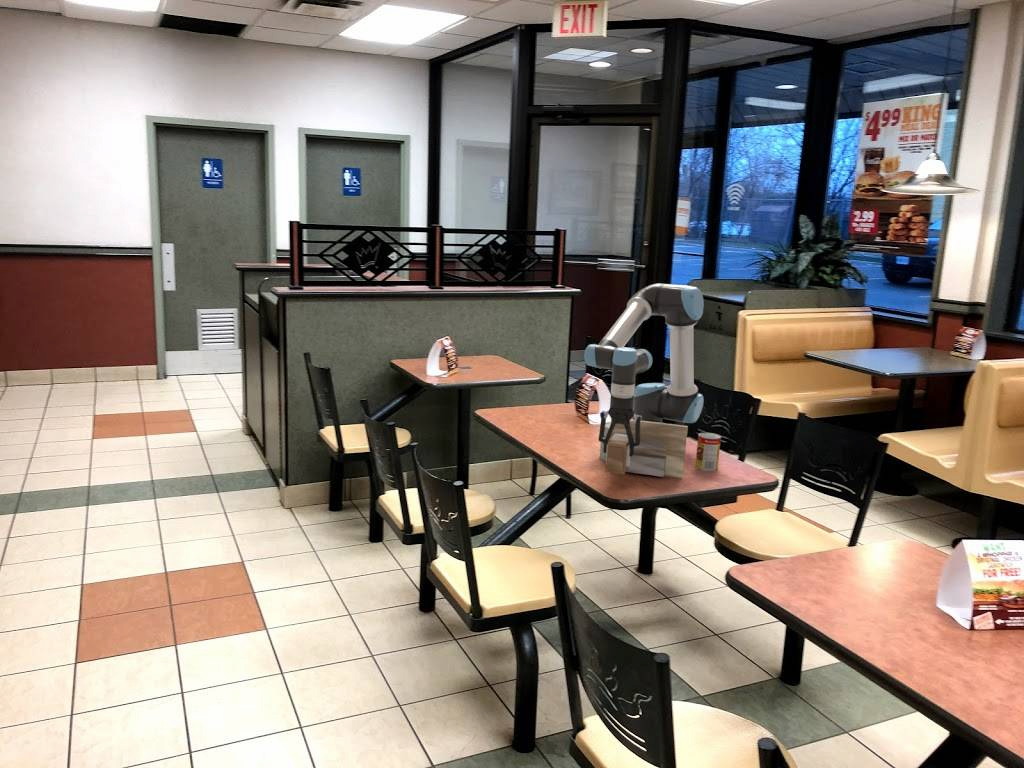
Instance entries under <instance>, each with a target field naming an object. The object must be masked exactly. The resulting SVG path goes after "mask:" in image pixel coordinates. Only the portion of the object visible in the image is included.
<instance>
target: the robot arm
mask: <svg viewBox="0 0 1024 768" xmlns="http://www.w3.org/2000/svg"><path fill="white" fill-rule="evenodd" d="M704 303H705V302H704V296H703V294H702V291H701V290H700V289H699V288H698V287H696V286H690V285H686V284H685V285H682V284H669V283H660V282H659V283H654V284H649V285H648V286H645V287H644V288H641V289H640V290H638V291H637V292H635V294H633V295H632V296H631V297H630V299H629V300H628V302H627V303H626V308H625V310H624V311H623V313H621V315H620V316H619V318H617V320H615V323H614V324H613V325H612V326H611V328H610V329H609V330H608V331H607V333H605V336H603V338H602V339H601V340H600V342H599V343H598V344H596V343H592V344H588V345H587V347H585V350H584V353H583V354H584V358H583V359H584V362H585V364H586V365H587V366H589V367H594V368H599V369H607V370H612V372H611V375H612V376H611V386H610V387H611V388H610V394H611V396H610V401H609V403H610V404H609V409H608V410H605V411H604V410H602V411H600V413H599V415H600V427H599V433H598V442H600V443H601V442H603V443H604V450H603V452H604V453H606V461H605V464H606V463H607V448H608V442H609V439H610V437H611V434H612V432H613V429H614V427H615V425H616V424H623V425H624V426H625V429H626V433H627V437H628V441H629V446H628V447H627V459H626V466H627V467H628V466H629V465H630V456H633V454H634V447H635V446H639V444H640V422H641V421H649V422H658V423H663V419H665V420H668V421H674V422H675V421H676V422H680V423H683V424H684V423H685V424H693V423H696V422H697V420H698V419H699V418H700V415H701V413H702V411H703V406H704V400H705V399H704V396H703V394H702V393H699V388H698V386H697V385H696V384H695V383H694V382H695V379H694V378H695V377H694V376H695V374H694V370H695V368H694V362H695V361H694V359H695V358H694V357H695V356H694V352H695V351H694V348H695V347H694V344H695V343H694V339H695V338H694V333H695V331H694V326H695V325H697V323H698V321H699V320H700V319H701V318H702V316H703V314H704ZM651 316H662V317H664V319H665V324H666V325H667V326H668V327H669V354H670V355H669V357H670V359H669V363H670V365H669V367H670V371H669V373H670V384H669V385H668V386H666V384H665V383H662V382H651V383H650V382H647V383H641V384H638V385H637V386H636V375H638V374H641V373H644V372H646V371H648V370H649V369H650V368H651V367H652V364H653V356H652V354H651V352H649V351H648V350H647V349H644V348H637V349H635V348H632V347H625V346H626V344H627V343H628V342H629V341H630V339H631V338H632V337H633V335H634V334H635V333H636V331H637V330H638V328H639V327H640V326H641V325H642V323H643V322H644V321H647V320H648V319H650V317H651ZM608 416H609V418H610V420H611V419H612V422H611V421H610V422H611V425H610V428H609V430H608V433H607V435H606V438H604V431H605V424H606V423H607V418H608ZM631 419H633V420H634V421H635V422H636V424H635V442H634V439H633V435H632V431H631V427H630V420H631Z"/></svg>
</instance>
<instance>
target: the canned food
mask: <svg viewBox="0 0 1024 768" xmlns="http://www.w3.org/2000/svg"><path fill="white" fill-rule="evenodd" d="M721 439H722V436H721V435H720V434H717V433H713V432H700V433H698V435H697V444H696V455H695V465H694V467H695V468H696V469H697V470H701V471H705V472H716V471H718V469H719V458H720V451H721V449H720V448H721Z"/></svg>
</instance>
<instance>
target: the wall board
mask: <svg viewBox="0 0 1024 768" xmlns="http://www.w3.org/2000/svg"><path fill="white" fill-rule="evenodd" d="M610 422H612V419H611V418H610ZM635 424H636V422H635V421H634V420H633V419H631V420H630V427H631V431H632V435H633V439H634V442H635ZM688 427H689V426H688V425H681V424H673V423H665V422H662V423H658V422H649V421H641V422H640V444H639V446H635V447H634V454H633V456H630V465H629V467H628V469H627V471H626V472H627V473H633V474H640V475H648V476H649V475H650V476H655V477H662V478H663V477H670V478H671V477H672V478H676V479H677V478H678V479H683V478H684V470H685V460H686V449H687V438H688V437H687V436H688ZM614 434H622V435H627V433H626V429H625V426H624V425H623V424H616V425H615V427H614V429H613V432H612V434H611V437H610V439H611V438H612V437H613V436H614ZM626 472H625V473H626Z"/></svg>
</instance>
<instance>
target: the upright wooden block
mask: <svg viewBox="0 0 1024 768" xmlns="http://www.w3.org/2000/svg"><path fill="white" fill-rule="evenodd" d="M628 446H629V441H628V437H627V435H622V434H614V436H613V437H612V438H611V439H610V440H609V442H608V448H607V463H606V462H605V465H606V466H605V473H609V474H610V473H611V474H617V475H618V474H620V475H625V474H626V471H627V469H628V467H629V466H628V467H627V466H626V459H627V447H628Z"/></svg>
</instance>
